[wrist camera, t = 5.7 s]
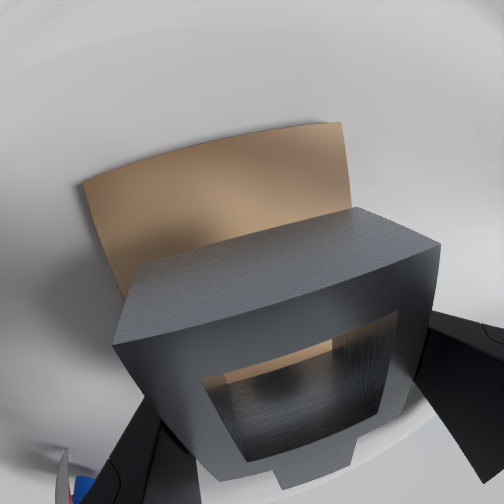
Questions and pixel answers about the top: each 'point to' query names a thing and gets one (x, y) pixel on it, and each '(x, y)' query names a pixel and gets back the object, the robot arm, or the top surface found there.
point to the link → (282, 340)
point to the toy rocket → (63, 498)
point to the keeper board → (219, 201)
